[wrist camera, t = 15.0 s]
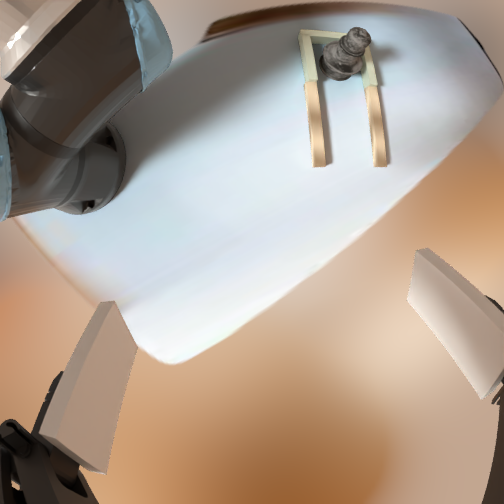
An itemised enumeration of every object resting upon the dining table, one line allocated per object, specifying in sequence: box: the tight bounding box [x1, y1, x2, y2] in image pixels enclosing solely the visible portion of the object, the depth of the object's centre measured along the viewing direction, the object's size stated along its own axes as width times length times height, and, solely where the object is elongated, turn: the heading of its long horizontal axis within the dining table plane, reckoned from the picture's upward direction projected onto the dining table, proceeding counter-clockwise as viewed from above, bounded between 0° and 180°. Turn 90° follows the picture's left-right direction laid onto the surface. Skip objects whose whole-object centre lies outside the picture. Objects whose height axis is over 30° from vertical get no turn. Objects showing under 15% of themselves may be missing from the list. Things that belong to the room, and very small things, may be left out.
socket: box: [298, 29, 378, 89], centre depth 31 cm, size 9×10×2 cm
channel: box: [304, 82, 387, 167], centre depth 34 cm, size 12×11×2 cm
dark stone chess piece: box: [319, 27, 371, 81], centre depth 26 cm, size 6×6×12 cm
